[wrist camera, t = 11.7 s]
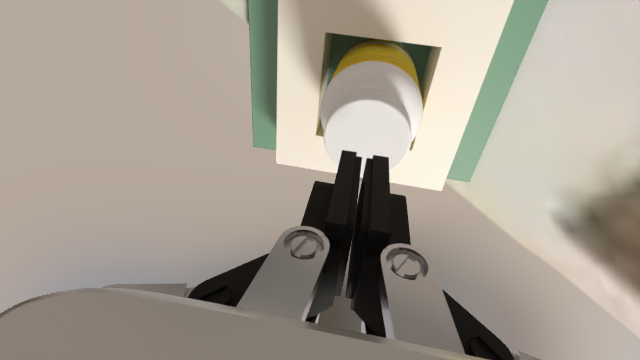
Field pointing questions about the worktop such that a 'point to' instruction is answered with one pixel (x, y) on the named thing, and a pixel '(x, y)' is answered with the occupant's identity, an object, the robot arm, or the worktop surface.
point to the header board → (430, 63)
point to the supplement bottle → (372, 103)
